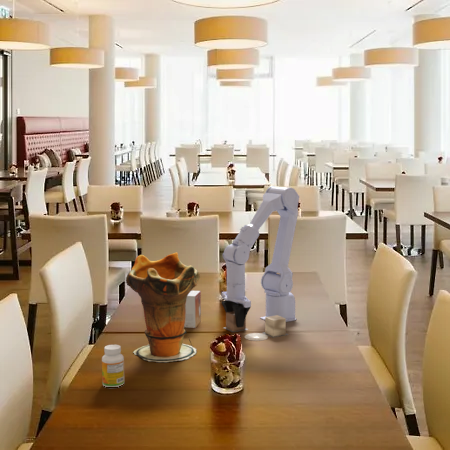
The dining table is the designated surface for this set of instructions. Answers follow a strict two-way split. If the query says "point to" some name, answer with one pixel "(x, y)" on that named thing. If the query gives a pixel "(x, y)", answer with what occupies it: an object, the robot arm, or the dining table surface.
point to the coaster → (256, 336)
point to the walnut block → (233, 322)
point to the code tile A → (235, 331)
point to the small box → (193, 309)
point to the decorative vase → (163, 305)
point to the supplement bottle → (112, 366)
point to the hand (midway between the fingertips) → (235, 324)
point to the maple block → (275, 325)
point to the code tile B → (274, 336)
